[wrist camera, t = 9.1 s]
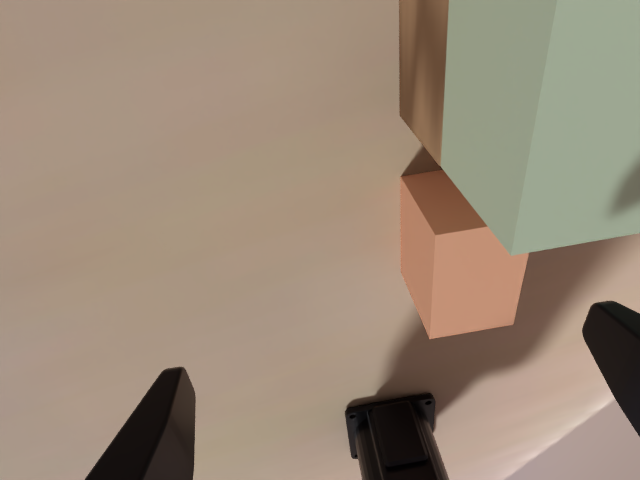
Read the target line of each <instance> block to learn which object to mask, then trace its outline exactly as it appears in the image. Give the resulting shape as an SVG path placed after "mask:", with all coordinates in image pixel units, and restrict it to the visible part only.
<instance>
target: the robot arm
mask: <svg viewBox="0 0 640 480" xmlns="http://www.w3.org/2000/svg"><path fill="white" fill-rule="evenodd" d="M582 333H583V337H584V340H585V342H586V344H587V346H588V348H589V350H590V351H591V353H592V355H593V357H594V359H595V361H596V363H597V365H598V367H599V369H600V371H601V373H602V374H603V376H604V378H605V380H606V382H607V384H608V386H609V388H610V390H611V392H612V393H613V395H614V397H615V399H616V401H617V402H618V404H619V406H620V407H621V409H622V410H623V412H624V413H625V415H626V417H627V418H628V419H629V421H630V423H631V424H632V426H633V427H634V429H635V430H636V432H637V433H638V435H639V436H640V314H639V313H637V312H635V311H633V310H631V309H629V308H627V307H625V306H623V305H621V304H619V303H617V302H614V301H605V302H598V303H594V304H593V305H592V306H591V307H590V310H589V312H588V315H587V317H586V320H585V323H584V325H583V329H582ZM195 402H196V401H195V391H194V388H193V386H192V383H191V381H190V379H189V376H188V374H187V372H186V370H185V368H184V367H175V368H168V369H165V370H164V371H162V372H161V374H160V375H159V376H158V378H157V379H156V381H155V382H154V383H153V385H152V386H151V388H150V389H149V390H148V392H147V393H146V395H145V396H144V397H143V399H142V400H141V402H140V403H139V404H138V406H137V407H136V409H135V410H134V411H133V413H132V414H131V416H130V417H129V418H128V420H127V421H126V423H125V424H124V425H123V427H122V428H121V430H120V431H119V432H118V434H117V435H116V437H115V438H114V439H113V441H112V442H111V444H110V445H109V446H108V448H107V449H106V451H105V452H104V453H103V455H102V456H101V457H100V459H99V460H98V462H97V463H96V464H95V466H94V467H93V469H92V470H91V471H90V473H89V474H88V476H87V477H86V478H85V480H193V472H194V444H195ZM434 412H435V399H434V397H433V395H432V394H424V395H418V396H413V397H407V398H402V399H396V400H391V401H385V402H380V403H374V404H369V405H363V406H358V407H352V408H348V409H347V410H346V411H345V417H346V424H347V431H348V438H349V445H350V451H351V457H352V458H353V459H358V460H359V465H360V470H361V475H362V480H449V478H448V475H447V472H446V469H445V466H444V463H443V461H442V458H441V455H440V452H439V449H438V447H437V444H436V441H435V438H434V435H433V425H434Z"/></svg>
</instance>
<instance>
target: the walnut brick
mask: <svg viewBox="0 0 640 480" xmlns="http://www.w3.org/2000/svg"><path fill="white" fill-rule="evenodd" d="M448 10H449V0H399V61H400V116H401V118H402V119H403V120H404V122H405V123H406V124H407V125H408V127H409V128H410V129H411V130H412V132H413V133H414V134H415V136H416V137H417V138H418V139H419V141H420V142H421V143H422V145H423V146H424V147H425V148H426V150H427V151H428V152H429V153H430V155H431V156H432V157H433V159H434V160H435V161H436V162H437V164H438V165H439V166H441V151H442V131H443V111H444V91H445V70H446V50H447V30H448Z"/></svg>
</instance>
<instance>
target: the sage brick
mask: <svg viewBox="0 0 640 480" xmlns="http://www.w3.org/2000/svg"><path fill="white" fill-rule="evenodd" d="M441 168H442V169H443V170H444V171H445V173H446V174H447V175H448V176H449V178H450V179H451V180H452V182H453V183H454V184H455V185H456V187H457V188H458V189H459V190H460V192H461V193H462V194H463V196H464V197H465V198H466V199H467V201H468V202H469V203H470V204H471V206H472V207H473V208H474V210H475V211H476V212H477V213H478V215H479V216H480V217H481V218H482V220H483V221H484V222H485V224H486V225H487V226H488V227H489V229H490V230H491V231H492V232H493V234H494V235H495V236H496V238H497V239H498V240H499V241H500V243H501V244H502V245H503V246H504V248H505V249H506V250H507V252H508V253H509V254H510V255H511V256H513V255H518V254H524V253H530V252H535V251H541V250H547V249H553V248H558V247H564V246H570V245H575V244H581V243H587V242H592V241H598V240H604V239H610V238H615V237H621V236H627V235H632V234H638V233H640V0H449V10H448V30H447V50H446V70H445V91H444V111H443V131H442V151H441Z"/></svg>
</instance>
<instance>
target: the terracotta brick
mask: <svg viewBox="0 0 640 480" xmlns="http://www.w3.org/2000/svg"><path fill="white" fill-rule="evenodd" d="M528 255H529V253H524V254H518V255H513V256H511V255H510V254H509V253H508V252H507V250H506V249H505V248H504V246H503V245H502V244H501V243H500V241H499V240H498V239H497V238H496V236H495V235H494V234H493V232H492V231H491V230H490V229H489V227H488V226H487V225H486V224H485V222H484V221H483V220H482V218H481V217H480V216H479V215H478V213H477V212H476V211H475V210H474V208H473V207H472V206H471V204H470V203H469V202H468V201H467V199H466V198H465V197H464V196H463V194H462V193H461V192H460V190H459V189H458V188H457V187H456V185H455V184H454V183H453V182H452V180H451V179H450V178H449V176H448V175H447V174H446V173H445V171H444V170H438V171H431V172H425V173H419V174H413V175H407V176H401V273H402V276H403V278H404V280H405V283H406V285H407V287H408V290H409V292H410V294H411V297H412V299H413V301H414V304H415V306H416V308H417V311H418V313H419V315H420V318H421V320H422V322H423V325H424V327H425V329H426V332H427V334H428V336H429V339H434V338H439V337H445V336H451V335H457V334H462V333H468V332H474V331H480V330H485V329H491V328H497V327H503V326H508V325H513V323H514V319H515V314H516V310H517V305H518V301H519V296H520V292H521V287H522V283H523V278H524V273H525V269H526V264H527V260H528Z"/></svg>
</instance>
